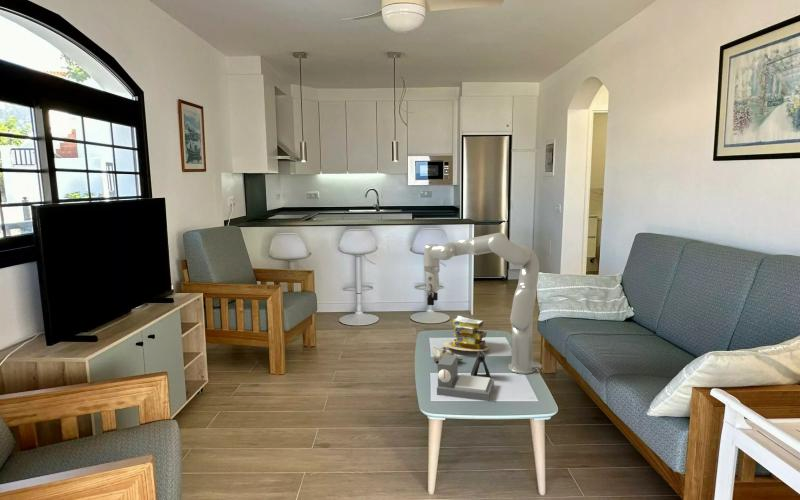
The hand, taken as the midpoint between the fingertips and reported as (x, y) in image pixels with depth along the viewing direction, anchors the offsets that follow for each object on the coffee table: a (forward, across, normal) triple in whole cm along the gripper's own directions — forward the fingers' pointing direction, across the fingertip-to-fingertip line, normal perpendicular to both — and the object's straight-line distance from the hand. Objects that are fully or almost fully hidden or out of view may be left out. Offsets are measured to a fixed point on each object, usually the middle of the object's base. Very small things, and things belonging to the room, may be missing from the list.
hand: (432, 302), depth 236 cm
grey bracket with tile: (+31, -31, -20) cm, 48 cm away
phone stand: (+31, -16, -25) cm, 43 cm away
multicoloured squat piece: (+31, +21, -14) cm, 40 cm away
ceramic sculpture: (+31, -2, -6) cm, 32 cm away
